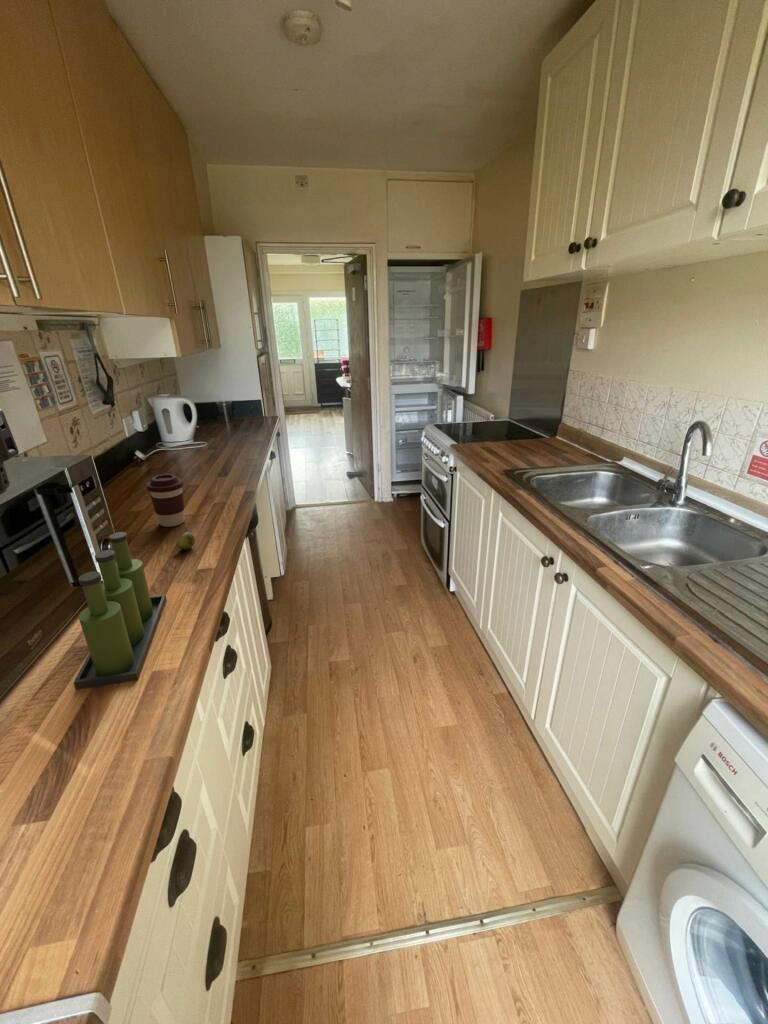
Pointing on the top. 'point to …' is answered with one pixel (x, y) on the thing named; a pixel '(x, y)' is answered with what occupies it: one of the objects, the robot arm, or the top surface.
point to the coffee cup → (167, 499)
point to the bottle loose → (104, 629)
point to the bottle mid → (120, 594)
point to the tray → (140, 650)
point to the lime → (186, 541)
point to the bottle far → (132, 573)
